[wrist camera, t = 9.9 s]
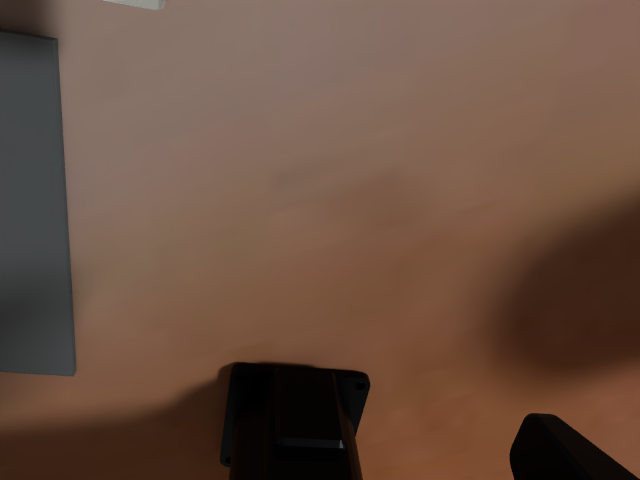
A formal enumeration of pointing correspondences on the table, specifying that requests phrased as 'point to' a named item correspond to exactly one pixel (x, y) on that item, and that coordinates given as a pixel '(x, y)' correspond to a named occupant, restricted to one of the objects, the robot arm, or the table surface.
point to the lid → (142, 3)
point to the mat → (33, 212)
